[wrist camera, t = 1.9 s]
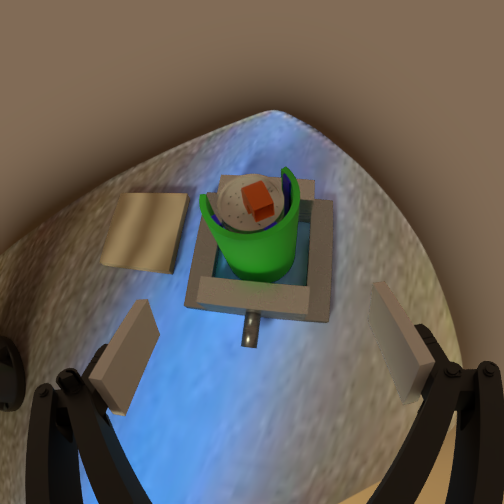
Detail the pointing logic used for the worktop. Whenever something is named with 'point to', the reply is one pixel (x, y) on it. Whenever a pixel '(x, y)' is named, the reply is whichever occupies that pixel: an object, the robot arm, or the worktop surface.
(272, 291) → the vise
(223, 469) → the worktop surface
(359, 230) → the worktop surface
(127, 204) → the board
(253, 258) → the green-shelled ribbed roller
